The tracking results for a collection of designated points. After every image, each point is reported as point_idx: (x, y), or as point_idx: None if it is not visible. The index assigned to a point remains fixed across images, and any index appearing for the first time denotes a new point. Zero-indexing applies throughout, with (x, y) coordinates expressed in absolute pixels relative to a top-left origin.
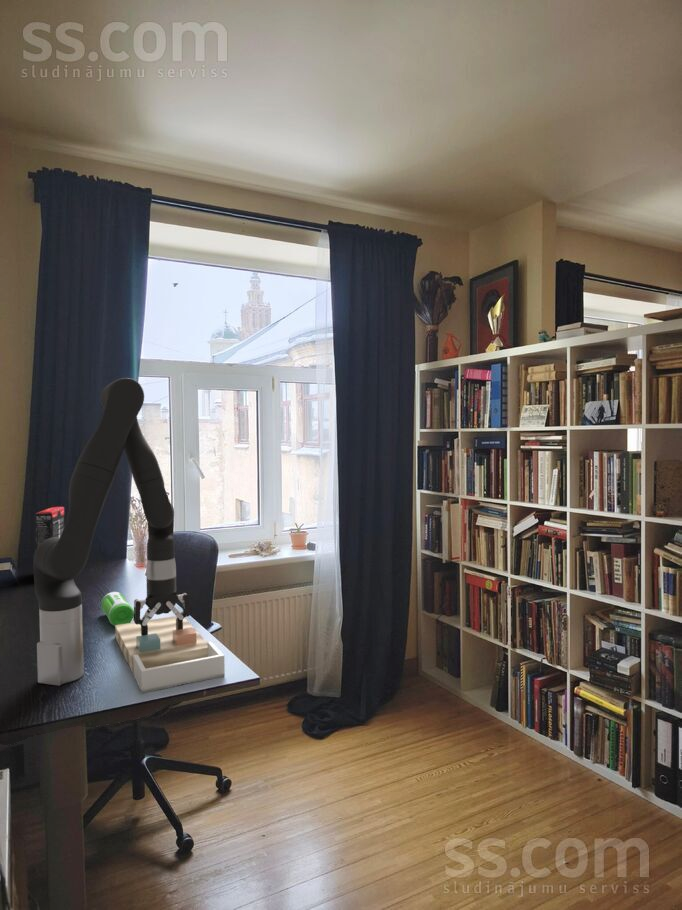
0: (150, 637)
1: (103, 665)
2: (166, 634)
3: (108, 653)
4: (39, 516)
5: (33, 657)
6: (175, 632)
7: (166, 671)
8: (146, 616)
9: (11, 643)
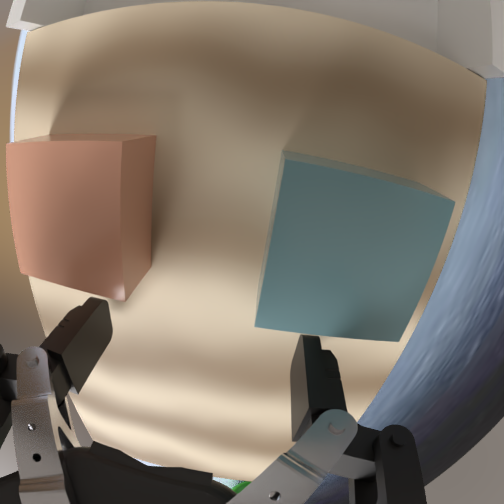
0: (338, 263)
1: (468, 284)
2: (166, 358)
3: (393, 376)
4: None
5: (489, 410)
6: (111, 245)
7: None
8: (322, 480)
9: (450, 464)
